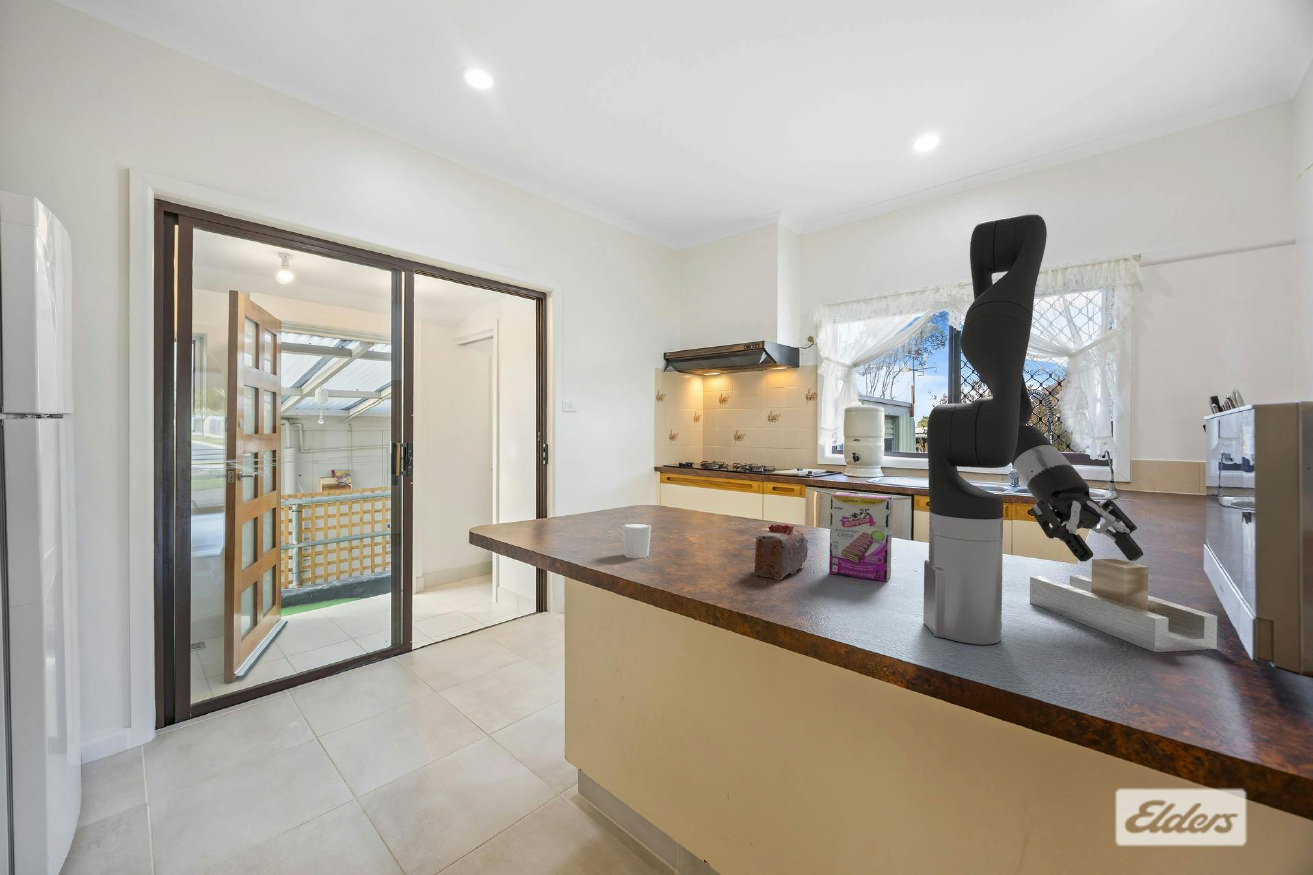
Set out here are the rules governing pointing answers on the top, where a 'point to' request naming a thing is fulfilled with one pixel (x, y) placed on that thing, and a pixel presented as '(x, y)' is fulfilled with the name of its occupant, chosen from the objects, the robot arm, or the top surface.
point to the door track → (1128, 616)
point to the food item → (780, 552)
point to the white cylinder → (636, 540)
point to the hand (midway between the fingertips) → (1112, 558)
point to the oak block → (1121, 582)
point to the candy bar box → (861, 536)
